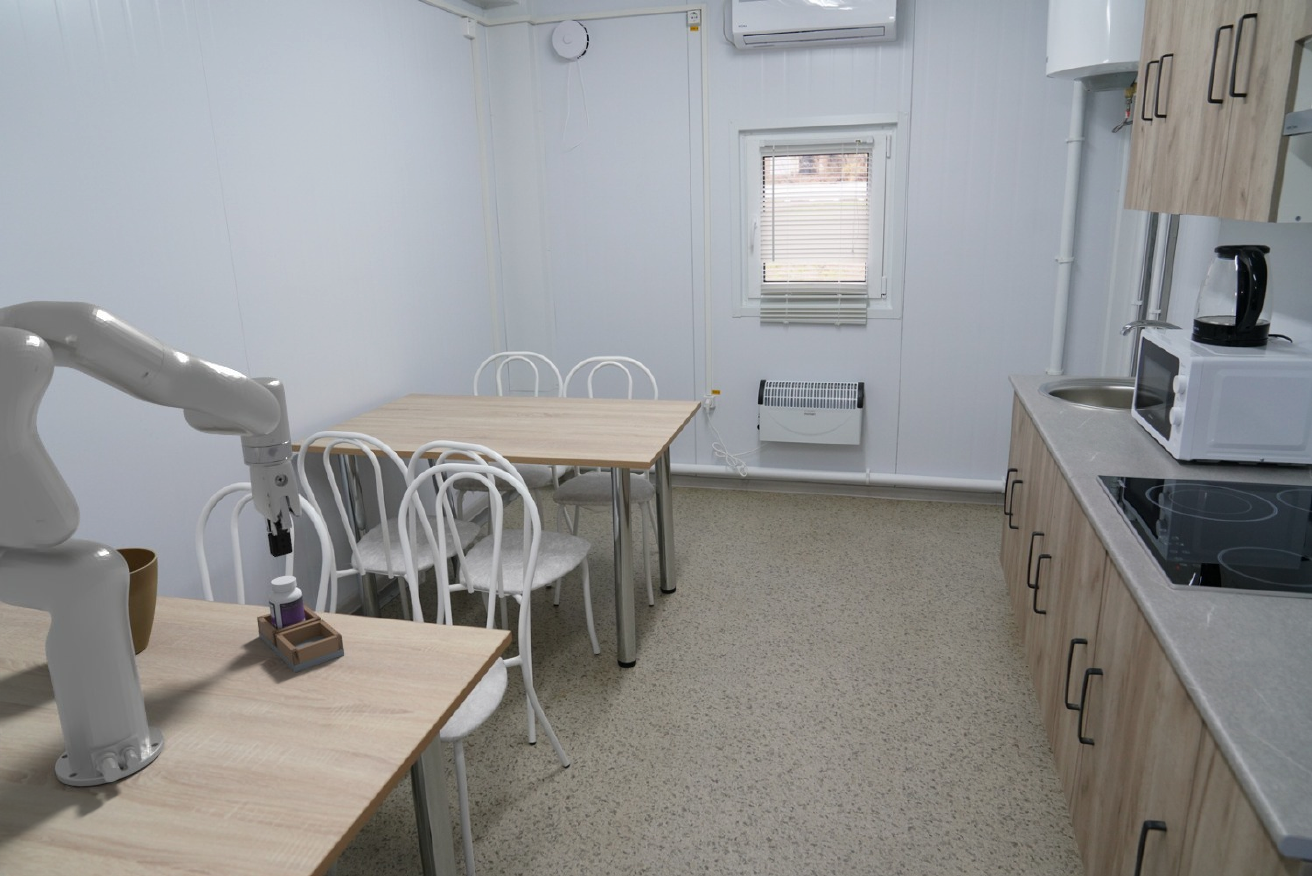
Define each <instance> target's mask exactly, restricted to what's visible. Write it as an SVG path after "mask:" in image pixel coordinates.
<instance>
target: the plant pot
mask: <svg viewBox="0 0 1312 876" xmlns="http://www.w3.org/2000/svg"><path fill="white" fill-rule="evenodd" d="M114 549H115V548H114ZM115 550H117V551H118V552H119V553H120V554H121V555H122V556H123V557H124V559H125V560H126V562H127V565H128V568H129V574H130V584H129V597H128V609H129V621H130V628H131V634H132V640H133V645H134V651H135V655H136V654H139V653H141V652H142V651H144V650H145V649H146V648H147V647H148V646H149V641H150V638H151V635H152V634H151V633H152V630H153V624H154V619H155V613H156V606H157V595H158V582H159V581H158V579H159V577H158V576H159V574H158V573H159V572H158V571H159V570H158V569H159V567H158V566H159V564H158V553H157V552H156V551H155V550H153V549H152V548H151V549H150V548H146V547H123V548H116V549H115Z"/></svg>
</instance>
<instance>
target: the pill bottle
mask: <svg viewBox="0 0 1312 876" xmlns="http://www.w3.org/2000/svg"><path fill="white" fill-rule="evenodd" d="M270 584H271V585H270V587H271V592H270V594H269V595H268V606H269V611H270V613H271V620H272V626H273V627H274V628H275V629H276V630H278V629H281V628H285V627H288V626H291V625H294V624H297V623H300V622H303V621H305V614H304V606H303V604H304V599H303V593H302V592H303V591H302V590H301V589H300V588H299V587H297V577H295V576H293V575H283V576H278V577H275V578H274V579H272V580H271V582H270ZM270 613H269V614H270Z"/></svg>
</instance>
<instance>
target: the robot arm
mask: <svg viewBox="0 0 1312 876" xmlns="http://www.w3.org/2000/svg"><path fill="white" fill-rule="evenodd" d="M55 367H59V368H62V367H63V368H69V369H72V370H76V371H78V372H81V373H82V374H84V375H87V376H89V377H91V378H94V379H96V380H98V381H99V382H102V383H104V384H106V385H108V386H109V387H110V386H111V387H112V388H114V389H116V390H119V391H120V392H122V393H125V394H127V395H129V396H130V397H132V398H135V399H137V400H140V401H142V402H147V403H150V404H153V405H158V406H162V407H168V408H169V407H170V408H174V409H181V410H182V411H183V416H184V419H185V421H186V423H187V424H188V425H189V426H190V427H191V428H192V429H193V430H196V431H198V432H200V433H202V434H203V433H204V434H209V435H219V436H220V435H221V436H222V435H224V436H239V437H240V442H241V450H242V456H243V458H242V459H243V463H244V465H246V466H248V467H249V477H250V478H249V479H250V488H251V495H252V501H253V505H254V508H255V510H256V511H257V512H258V513H259V514H261V516H263V517H264V522H265V527H266V531H267V532H268V533H267V538H268V547H269V552H270V555H271V556H273V557H274V558H278V557H282V556H285V555H289V554H292V553H293V544H292V535H291V529H292V528H293V522H292V519H291V514H292V515H293V516H295V517H297V518H299V517H301V516H302V513H303V512H302V511H303V510H302V505H301V499H300V495H299V494H300V493H299V489H298V483H297V479H296V474H295V470H294V467H293V464H292V460H293V459H294V454H293V446H292V439H291V429H290V425H289V424H290V423H289V415H288V414H289V413H288V407H287V400H286V399H287V398H286V392H285V385H284V384H283V382H282V381H281V380H280V379H279V378H275V377H269V376H268V377H267V376H263V377H251V378H250V377H248V376H246V375H245V374H243V373H240V372H239V371H236V370H233V369H231V368H229V367H227V366H223V365H222V364H218V363H215V362H212V361H211V360H210V361H209V360H207V359H204V358H202V357H200V356H198V355H194V354H191V353H188V352H185V351H182V350H179V349H177V348H175V347H172V346H171V345H169V344H166V343H164V342H163V341H161V340H160V339H158V338H156V337H154V336H152V335H151V334H149V333H147V332H146V331H144V330H142V329H141V328H139V327H137V326H136V325H134V324H131V323H130V322H129V321H126V320H125V319H124V318H121V317H119V316H118V315H117V314H114V313H113V312H111V311H109V310H107V309H105V308H103V307H101V306H99V305H95V304H93V303H89V302H83V301H59V300H58V301H57V300H56V301H55V300H35V301H34V300H32V301H26V302H22V303H16V304H13V305H9V306H4V307H1V308H0V603H3V604H6V605H9V606H14V607H18V608H23V609H30V610H31V609H32V610H37V611H39V612H40V611H41V612H46V613H49V615H50V618H51V620H50V625H49V628H48V631H47V635H46V638H45V643H44V644H45V648H44V649H45V650H44V652H45V659H46V663H47V668H48V671H49V675H50V681H51V685H52V690H53V694H54V699H55V703H56V709H57V714H58V719H59V723H60V727H61V733H62V736H63V737H62V738H63V741H64V746H65V747H64V748H65V751H64V752H62V754H60V756H59V757H58V759H57V761H56V762H55V767H54V772H55V774H56V778H57V779H58V781H60V782H61V783H63V784H64V785H68V786H74V787H89V786H90V787H91V786H99V785H102V784H107V783H113V782H116V781H118V780H120V779H123V778H125V777H128V776H130V775H132V774H135V773H136V772H138V771H140V770H141V769H143V768H144V767H146V766H147V765H149V764H150V763H152V762H153V761H154V760H155V759H156V758H157V757H158V756H159V755H160V754H161V752H162V750H163V749H164V746H165V739H164V738H165V737H164V733H163V732H162V730H160V729H159V728H158V727H156V726H154V725H149V723H148V718H147V713H146V712H147V711H146V706H145V702H144V695H143V689H142V684H141V679H140V674H139V669H138V663H137V657H136V654H135V651H134V645H133V640H132V634H131V628H130V621H129V609H128V597H129V584H130V574H129V568H128V565H127V562H126V560H125V559H124V557H123V556H122V555H121V554H120V553H119V552H118V551H117V550H115V548H114V547H112V546H109V545H107V544H105V543H102V542H99V541H95V540H89V539H83V538H73V536H74V535H75V533H76V532H77V530H78V528H79V526H80V523H81V512H80V507H79V505H78V502H77V500H76V497H75V496H74V494H73V492H72V491H71V489H70V487H69V486H68V484H67V482H66V481H65V479H64V477H63V476H62V474H61V473H60V471H59V469H58V467H57V465H56V464H55V463H54V461H53V458H51V455H50V454H49V452H48V451H47V450H46V449H47V448H46V447H45V445H44V443H43V440H42V439H41V437H40V435H39V431H38V426H37V418H38V413H39V408H40V406H41V403H42V400H43V397H44V396H45V394H46V392H47V391H48V390H47V389H48V388H49V386H50V384H51V381H52V379H53V376H54V372H55Z"/></svg>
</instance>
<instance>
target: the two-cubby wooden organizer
mask: <svg viewBox="0 0 1312 876" xmlns="http://www.w3.org/2000/svg"><path fill="white" fill-rule="evenodd" d="M303 606H304V614H305V621H303V622H300V623H297V624H294V625H291V626H288V627H285V628H281V629H278V630H276V629H275V628H274V627H273V626H272V620H271V613H267V614H264V615H261V616H257V617H256V620H257V627H258V628H257V629H258V636H259V638H260V639H261V640H262V641H263V642H264V643H265V644H266V645H267V646H268V647H269V648H270V649H271V650H272V651H273V652H274V653H275V654H276V655H277V656H278V657H279V658H280V659H281V660H282V661H283V662H284V663H285V664H286V665H288V667H289V668H290V669H291V670H292V671H293V672H294V673H298V672H301V671H303V670H306V669H310V668H312V667H314V666H318V665H320V664H324V663H325V662H330V661H332V660H334V659H337V658H340V657H343V656H345V650H344V643H343V635H342V634H341V633H340V632H339V631H337V630H336V629H335V628H334V627H333V626H331V625H330V624H329V623H328V622H326V621H325V620H324V619H322V618H321V616H319V615H318V614H317V613H316V612H314V611H313V610H312V609H311V608H309V607H308V606H307V605H306V604H305V603H303Z"/></svg>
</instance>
